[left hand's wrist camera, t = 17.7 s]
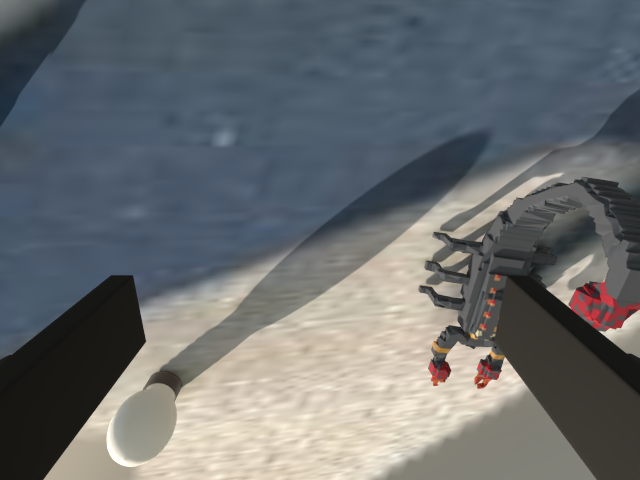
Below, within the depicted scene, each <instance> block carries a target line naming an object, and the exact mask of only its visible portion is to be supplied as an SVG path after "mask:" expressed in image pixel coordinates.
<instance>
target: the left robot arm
mask: <svg viewBox="0 0 640 480" xmlns="http://www.w3.org/2000/svg"><path fill="white" fill-rule="evenodd" d="M145 342H146V339H145V334H144V329H143V324H142V319H141V314H140V309H139V304H138V299H137V294H136V289H135V284H134V278H133V275H111V276H110V277H109V278H107V279H106V280H105V281H104V282H102V283H101V284H100V285H99V286H97V287H96V288H95V289H94V290H92V291H91V292H90V293H89V294H87V295H86V296H85V297H84V298H82V299H81V300H80V301H79V302H77V303H76V304H75V305H74V306H72V307H71V308H70V309H69V310H67V311H66V312H65V313H64V314H62V315H61V316H60V317H59V318H57V319H56V320H55V321H54V322H52V323H51V324H50V325H49V326H47V327H46V328H45V329H44V330H42V331H41V332H40V333H39V334H37V335H36V336H35V337H34V338H32V339H31V340H30V341H29V342H27V343H26V344H25V345H24V346H22V347H21V348H20V349H19V350H17V351H16V352H15V353H14V354H12V355H8V356H6V357H5V358H3V359H1V360H0V480H43V479H44V478H45V477H46V475H47V474H48V473H49V471H50V470H51V468H52V467H53V466H54V464H55V463H56V462H57V460H58V459H59V458H60V456H61V455H62V454H63V452H64V451H65V450H66V448H67V447H68V446H69V444H70V443H71V442H72V440H73V439H74V438H75V436H76V435H77V434H78V432H79V431H80V430H81V428H82V427H83V426H84V424H85V423H86V422H87V420H88V419H89V417H90V416H91V415H92V413H93V412H94V411H95V409H96V408H97V407H98V405H99V404H100V403H101V401H102V400H103V399H104V397H105V396H106V395H107V393H108V392H109V391H110V389H111V388H112V387H113V385H114V384H115V383H116V381H117V380H118V379H119V377H120V376H121V375H122V373H123V372H124V370H125V369H126V368H127V366H128V365H129V364H130V362H131V361H132V360H133V358H134V357H135V356H136V354H137V353H138V352H139V350H140V349H141V348H142V346H143V345H144V344H145ZM494 342H495V344H496V345H497V346H498V348H499V349H500V350H501V352H502V353H503V354H504V356H505V357H506V358H507V360H508V361H509V362H510V364H511V365H512V366H513V368H514V369H515V370H516V372H517V373H518V375H519V376H520V377H521V379H522V380H523V381H524V383H525V384H526V385H527V387H528V388H529V389H530V391H531V392H532V393H533V395H534V396H535V397H536V399H537V400H538V401H539V403H540V404H541V405H542V407H543V408H544V409H545V411H546V412H547V413H548V415H549V416H550V417H551V419H552V420H553V422H554V423H555V424H556V425H557V427H558V428H559V430H560V431H561V432H562V434H563V435H564V436H565V438H566V439H567V440H568V442H569V443H570V444H571V446H572V447H573V448H574V450H575V451H576V452H577V454H578V455H579V456H580V458H581V459H582V460H583V462H584V463H585V464H586V466H587V467H588V468H589V470H590V471H591V472H592V474H593V475H594V476H595V478H596V479H597V480H640V358H638V357H636V356H634V355H633V354H626V353H625V352H624V351H623V350H621V349H620V348H619V347H618V346H616V345H615V344H614V343H613V342H611V341H610V340H609V339H608V338H606V337H605V336H604V335H603V334H601V333H600V332H599V331H598V330H596V329H595V328H594V327H593V326H591V325H590V324H589V323H588V322H586V321H585V320H584V319H583V318H581V317H580V316H579V315H578V314H576V313H575V312H574V311H573V310H571V309H570V308H569V307H568V306H566V305H565V304H564V303H563V302H561V301H560V300H559V299H558V298H556V297H555V296H554V295H553V294H551V293H550V292H549V291H548V290H546V289H545V288H544V287H543V286H541V285H540V284H539V283H538V282H536V281H535V280H534V279H533V278H531V277H530V276H529V275H507V278H506V283H505V289H504V294H503V299H502V304H501V309H500V314H499V319H498V324H497V329H496V334H495V339H494Z"/></svg>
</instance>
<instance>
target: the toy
mask: <svg viewBox="0 0 640 480" xmlns="http://www.w3.org/2000/svg"><path fill="white" fill-rule="evenodd" d="M618 184H619V183H617V182H613V181H606V180H599V179H593V178H586V177H582V178H581V180H576V179H575V181H574V183H571V184H564V183H556V184H555V185H552V186H551V187H546V189H541V191H536V193H533V194H531V195H527V196H526V197H525V198H524V199H523V198H516V200H514V202H513V205H510V207H508V208H507V210H505V211H500V212H499V214H498V215H497V217H496V219H495V221H494V223H493V225H492V226H491V228H490V230H488V231H487V233H486V234H485V236H484V238H483V240H482V242H474V241H465V240H460V239H454V238H451V237H449V236H448V235H447V234H445V233H437V232H434V233H433V237H434V238H436V239H439V240H442V241H443V242H444V243H445V244H446V245H447V246H448V247H449V249H450V250H452V251H462V253H471V254H472V257H471V260H470V263H469V266H468V267H469V270H468V272H467V274H466V275H465V274H463V273H457V272H452V271H447V270H444V269H442V267H441V266H440V264H438V263H437V262H433V261H426V263H425V267H424V268H425V269H426V270H429V271H433V272H435V273H437V274H438V276H439V277H440V278H441V279H442V280H444V281H446V282H453V283H460V284H463V285H462V289H461V292H460V293H461V294H462V295H463V298H462V299H460V298H452V297H448V296H443V295H438V294H437V293H436V292H435V291H434V289H433V288H432V287H428V286H419V292H421V293H425V294H428V295H429V297H430V299H431V300H432V302H433V303H434V305H435V306H438V307H442V308H448V309H453V310H459V311H458V313H459V315H458V322H459V324H460V325H461V327H462V328H461V327H457V326H451V325H449V326H448V327H446V330H445V331H442V332H441V335H440V337H438V339H437V340H436V342H435V341H434V342H433V345H432V349H431V350H432V353H433V355H434V358H433V360H432V359H431V362H430V365H429V367H428V369H429V371H430V372H431V374H432V379H431V381H433V386H437V385H438V384H437V383H438V381H440V382H445V380H446V379H447V377H449V375H450V372H451V369H450V367H449V364H448V362H445V358H446V355H447V353H448V352H449V351H450V350H451V348H452V347H453V346H454V345H455V344H456V342H457V341H459V342H460V343H461V344H463V345H466V346H470V347H471V348H473V349H474V348H475V347H492V349H491V352H490V354H489V355H487V357H486V359H485V360H483V359H481V360H480V362H479V365H478V368H477V370H478V375H477V376H476V377H475V384H477V383H479V382H480V380H481V379H484V380H483V383H479V384H477V388H478V389H480V388H484V387H485V386H486V385H487V384H488V382H489V381H490V380H492V379H494V380H497V379H498V378H499V374H500V372H501V371H502V370H501V367H502V364H503V360H504V357H505V356H504V354H503V353H502V352H501V350H500V349H499V348H498V346H497V345H496V344H495V342H494V339H495V334H496V329H497V324H498V319H499V314H500V309H501V304H502V299H503V294H504V289H505V283H506V278H507V275H529V276H530V277H531V278H533V279H534V280H535V281H536V282H538V283H539V284H540V285H541V286H543V287H544V288H546V285H544V284H543V283H542V282H541V280H542V278H541V277H540V276H539V275H533V274H528V272H529V269H530V266H531V263H539V264H549V265H554V264H555V262H556V259H557V257H556V256H554V255H552V254H551V253H552V251H553V250H552V249H551V248H549V247H542V246H539V249H538V252H537V253H535V250H536V248H537V247H536V246H535V245H534V244H535V243H536V241H538V239H539V237H540V236H542V233H543V230H544V229H545V228H547V226H548V225H549V224H550V222H553V218H554V216H555V213H563V214H565V212H566V211H568V210H569V209H570V210H575V208H580V207H582V208H583V209H586V210H588V211H589V216H591V217H593V218H595V219H594V222H595V223H596V233H598V234H600V235H601V236H602V237H601V240H603V247H604V251H605V254H606V255H605V257H608V258H609V259H608V261H607V264H608V267H609V271H608V274H607V277H606V279H605V282H602V283H597V282H589V284H588V283H586V284H585V285H584V286H582V287H578V288H576V290H575V292H574V294H573V296H572V298H571V300H570V302H569V306H570V307H571V309H572V310H573V311H574V312H575V313H576V314H578V315H579V316H580V317H581V318H583V319H584V320H585V321H586V322H588V323H589V324H590V325H591V326H593V327H594V328H595V329H596V330H598V331H604V332H606V331H607V330H608V329H609V328H613V329H616V328H621V327H622V325H623V322H624V321H625V320H626V319H627V318H628V317H630V316H631V315H632V314H633V313H635V312H637V311H638V310H640V202H636V201H633V200H630V199H631V196H632V195H630V194H628V193H626V192H625V191H624V190H622V189H620V188H618V187H617V186H618Z"/></svg>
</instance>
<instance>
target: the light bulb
mask: <svg viewBox="0 0 640 480" xmlns="http://www.w3.org/2000/svg"><path fill="white" fill-rule="evenodd" d="M180 389H181V382H180V380H179V379H178V378H177V377H176V376H175V375H173V374H171V373H168V372H157V373H154V374H153V375H152V376H151V377H150V379H149V380H148V382H147V384H146V385H145V387H144V389H143V390H142V391H140V392H137V393H136V394H134V395H132V396H131V397H129V398H128V399H127V400H126V401H125V402H124V403H123V404H122V405H121V406H120V407H119V408H118V410H117V411H116V413H115V415H114V416H113V418H112V420H111V422H110V425H109V428H108V432H107V448H108V451H109V454H110V456H111V457H112V459H113V460H114V461H116V462H117V463H119V464H120V465H123V466H129V467H133V466H138V465H141V464H144V463H146V462H148V461H149V460H151V459H153V458H154V457H155V456H156V455H158V454H159V453H160V452H161V451H162V450H163V448H164V447H165V446H166V445H167V443H168V442H169V440H170V438H171V436H172V434H173V431H174V428H175V425H176V420H177V409H176V405H175V402H174V401H175V400H176V398H177V396H178V393H179V391H180Z"/></svg>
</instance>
